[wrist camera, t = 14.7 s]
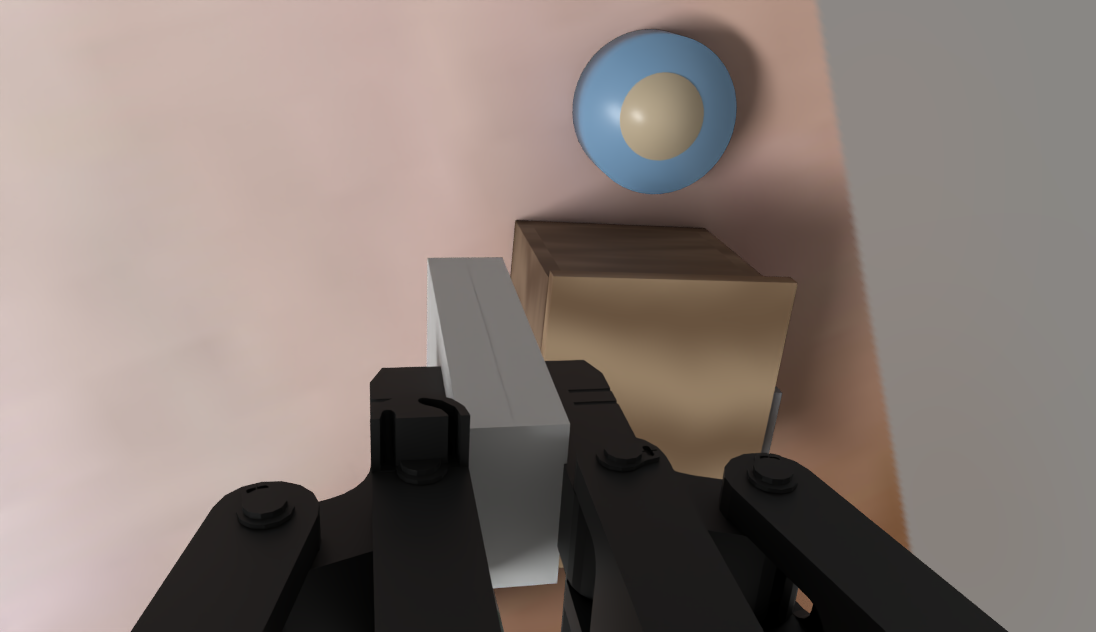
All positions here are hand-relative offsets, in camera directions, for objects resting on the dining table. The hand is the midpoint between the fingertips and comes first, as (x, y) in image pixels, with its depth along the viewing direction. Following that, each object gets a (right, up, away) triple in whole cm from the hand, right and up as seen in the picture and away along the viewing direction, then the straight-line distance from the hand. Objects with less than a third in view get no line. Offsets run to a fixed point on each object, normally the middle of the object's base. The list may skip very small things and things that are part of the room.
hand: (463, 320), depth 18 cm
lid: (+7, -5, +28) cm, 29 cm away
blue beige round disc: (+7, +11, +29) cm, 32 cm away
